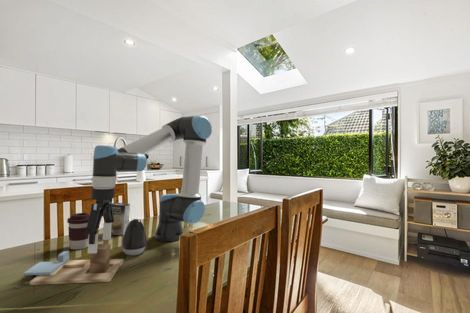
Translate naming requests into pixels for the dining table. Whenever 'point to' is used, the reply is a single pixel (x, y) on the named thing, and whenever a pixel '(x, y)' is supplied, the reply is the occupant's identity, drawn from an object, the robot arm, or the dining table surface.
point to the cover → (48, 265)
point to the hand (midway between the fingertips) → (99, 246)
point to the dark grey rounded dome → (134, 238)
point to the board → (77, 273)
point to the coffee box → (120, 218)
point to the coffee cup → (78, 230)
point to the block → (100, 259)
